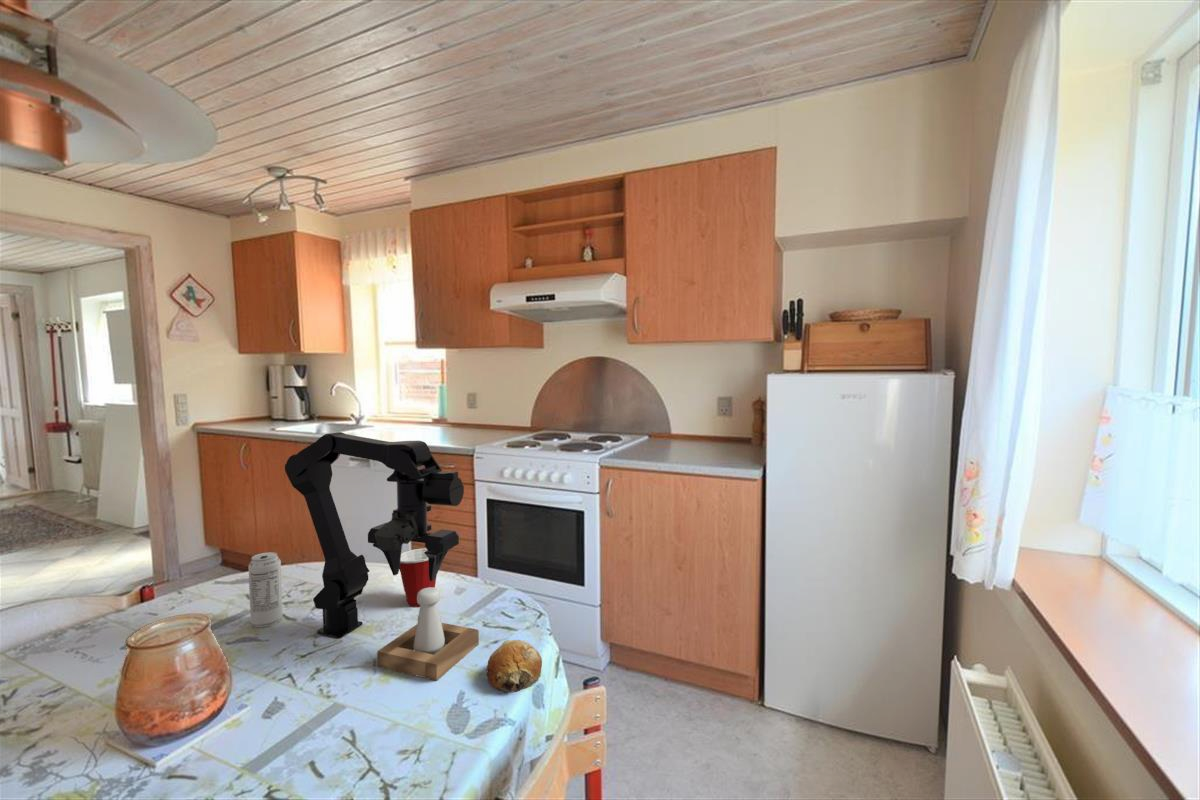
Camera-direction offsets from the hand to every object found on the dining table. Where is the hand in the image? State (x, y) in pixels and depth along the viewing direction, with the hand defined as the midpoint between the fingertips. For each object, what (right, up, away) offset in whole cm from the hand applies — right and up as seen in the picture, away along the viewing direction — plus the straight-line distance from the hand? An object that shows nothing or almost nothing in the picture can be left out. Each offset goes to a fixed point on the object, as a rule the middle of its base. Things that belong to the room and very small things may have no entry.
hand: (413, 577), depth 107 cm
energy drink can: (-36, -13, +8) cm, 39 cm away
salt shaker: (+5, -13, -6) cm, 15 cm away
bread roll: (+23, -14, -13) cm, 30 cm away
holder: (+5, -13, -6) cm, 15 cm away
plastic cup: (-5, -12, +18) cm, 23 cm away
